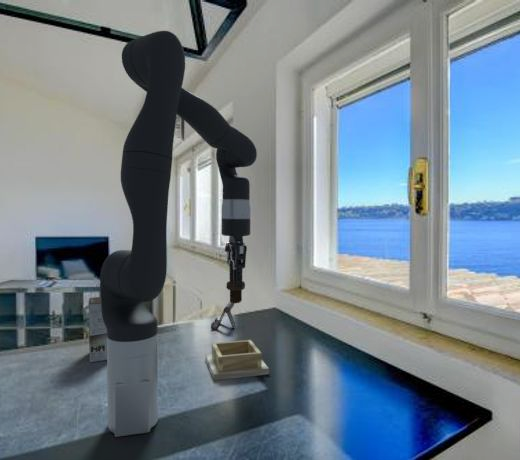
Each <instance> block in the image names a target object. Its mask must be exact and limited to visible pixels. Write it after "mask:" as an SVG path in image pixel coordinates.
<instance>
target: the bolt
mask: <svg viewBox="0 0 520 460" xmlns="http://www.w3.org/2000/svg"><path fill="white" fill-rule="evenodd" d="M231 249H232V252H234V246H231ZM231 249H230V246H229V245H225V246H224V252H226V253H227V252H229V257H230V267H229V277H230V279H229V280H228V281H227V282H226V289H227V290H228V291H229V302H231V303H234V304H240V303H241V302H242V299H243V298H242V297H243V296H242V295H243V293H242V291H243V290H245V287H246V283H245V281H243V280H242V284H239V285H235V284H234V283H233V261H231V255H230V252H231ZM247 251H248V249H246V252H247ZM238 263H240V261H238Z"/></svg>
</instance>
